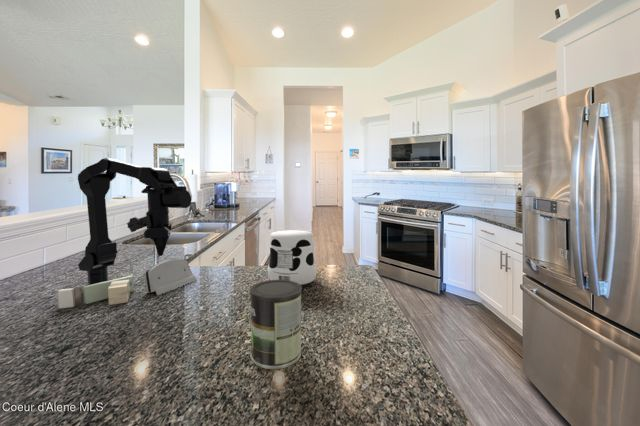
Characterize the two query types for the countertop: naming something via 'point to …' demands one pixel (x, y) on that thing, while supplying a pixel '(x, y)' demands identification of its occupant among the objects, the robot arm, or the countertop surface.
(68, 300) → the wall stub
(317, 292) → the countertop surface
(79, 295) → the gate post
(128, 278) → the door
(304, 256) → the milk container
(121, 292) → the block
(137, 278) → the countertop surface
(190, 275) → the grey curved upright block
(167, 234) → the robot arm
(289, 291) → the coffee can
